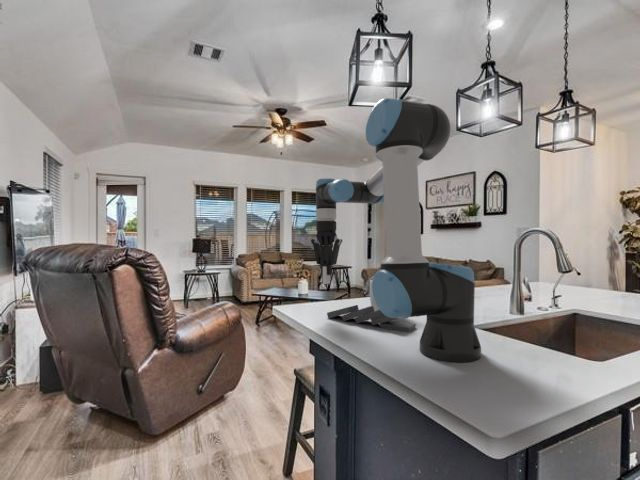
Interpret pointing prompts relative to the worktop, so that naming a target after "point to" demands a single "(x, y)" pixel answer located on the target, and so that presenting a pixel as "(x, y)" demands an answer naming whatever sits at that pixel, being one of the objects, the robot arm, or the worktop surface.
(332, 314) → the domino
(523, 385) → the worktop surface
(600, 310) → the worktop surface
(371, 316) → the domino
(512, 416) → the worktop surface
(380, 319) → the domino
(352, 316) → the domino
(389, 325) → the domino
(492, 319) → the worktop surface
